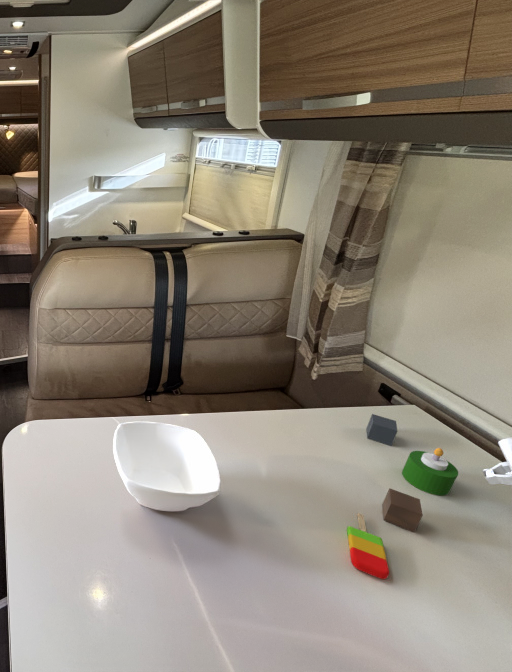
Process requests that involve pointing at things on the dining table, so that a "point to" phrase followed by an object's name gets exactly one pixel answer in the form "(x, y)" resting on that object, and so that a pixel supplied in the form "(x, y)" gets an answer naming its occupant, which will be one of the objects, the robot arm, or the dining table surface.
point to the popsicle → (367, 551)
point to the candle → (430, 472)
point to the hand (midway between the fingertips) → (485, 477)
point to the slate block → (381, 429)
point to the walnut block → (402, 510)
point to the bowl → (165, 465)
